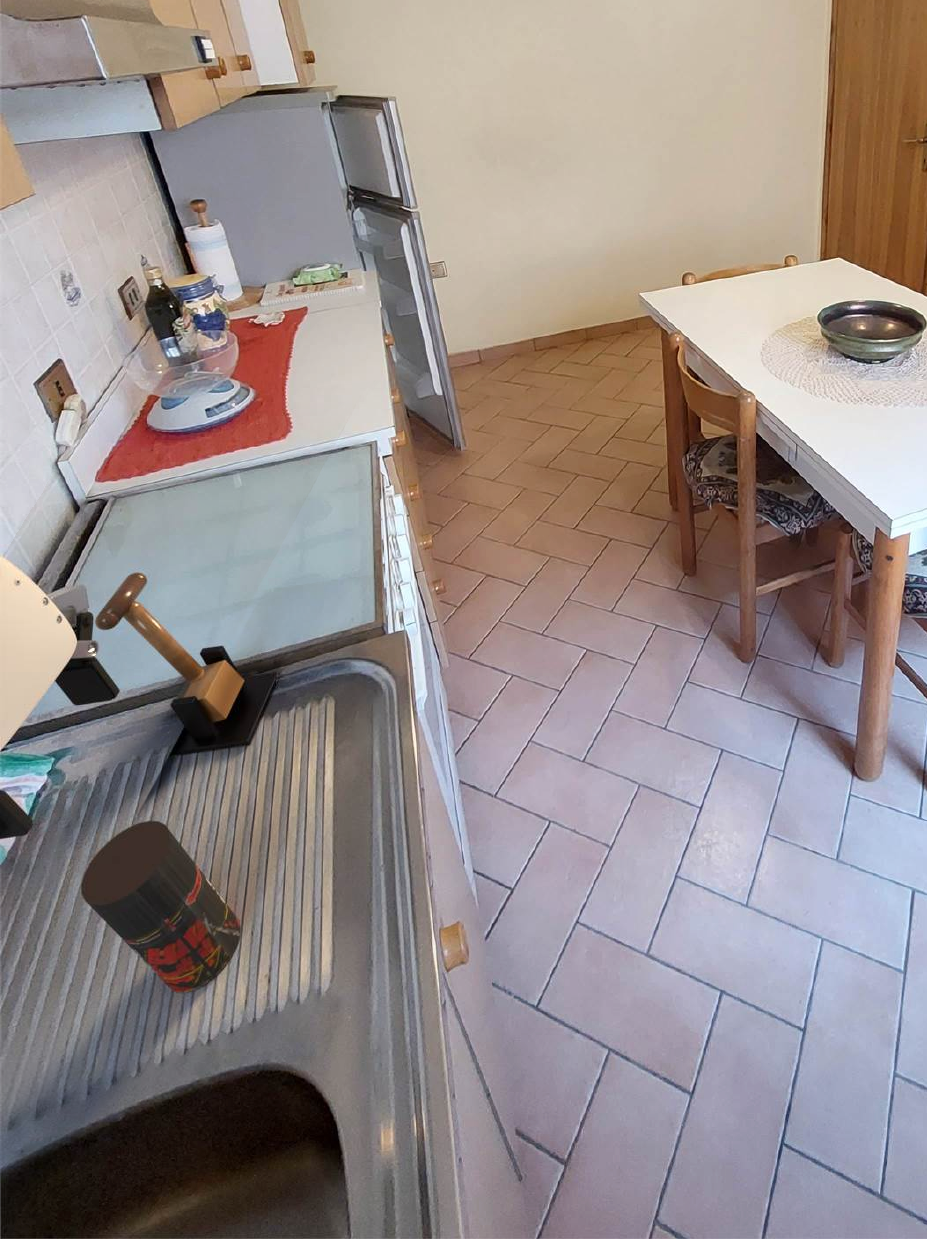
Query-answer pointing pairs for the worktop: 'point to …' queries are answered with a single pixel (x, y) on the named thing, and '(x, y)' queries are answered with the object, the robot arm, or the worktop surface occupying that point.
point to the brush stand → (240, 719)
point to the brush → (173, 651)
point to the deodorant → (162, 906)
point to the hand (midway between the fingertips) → (57, 760)
